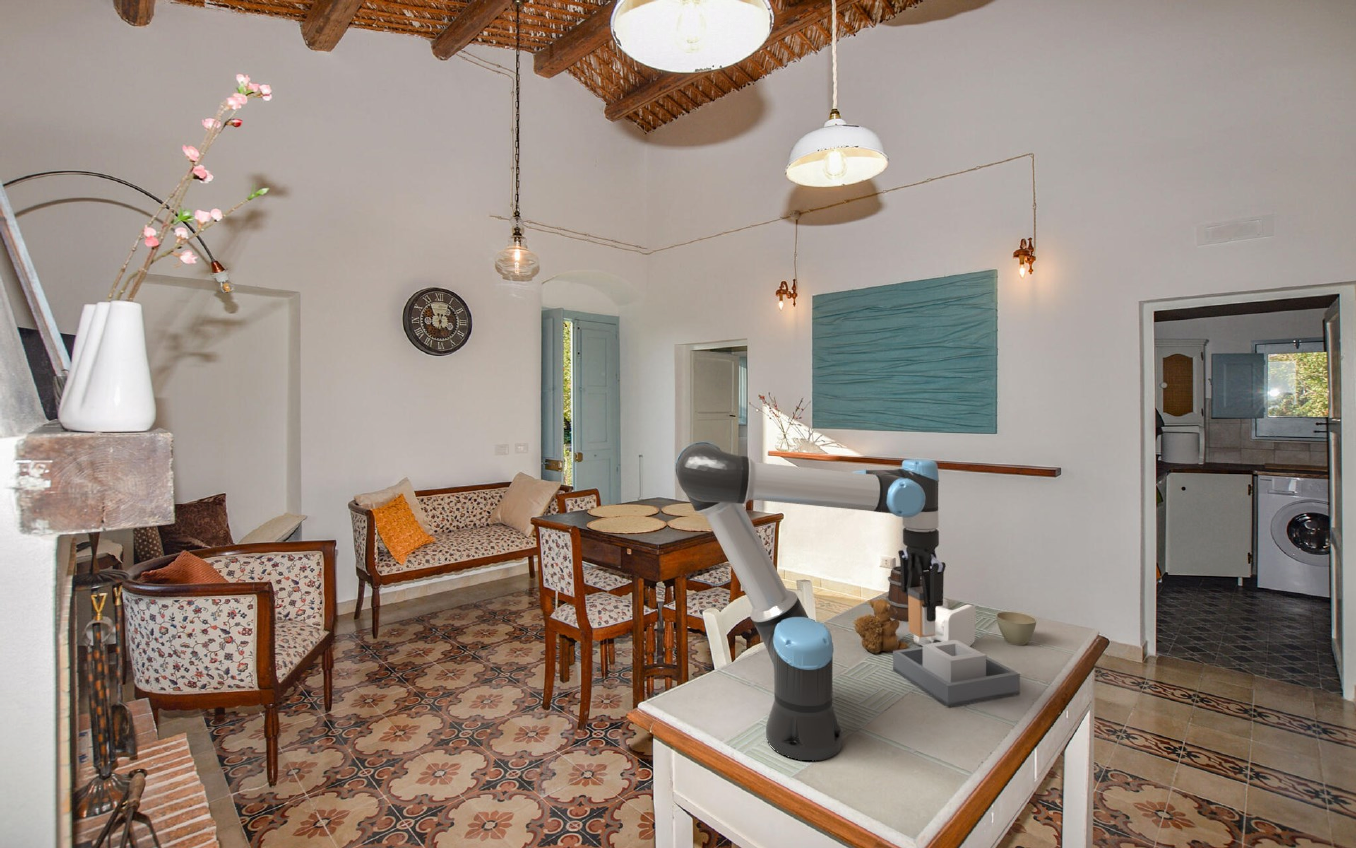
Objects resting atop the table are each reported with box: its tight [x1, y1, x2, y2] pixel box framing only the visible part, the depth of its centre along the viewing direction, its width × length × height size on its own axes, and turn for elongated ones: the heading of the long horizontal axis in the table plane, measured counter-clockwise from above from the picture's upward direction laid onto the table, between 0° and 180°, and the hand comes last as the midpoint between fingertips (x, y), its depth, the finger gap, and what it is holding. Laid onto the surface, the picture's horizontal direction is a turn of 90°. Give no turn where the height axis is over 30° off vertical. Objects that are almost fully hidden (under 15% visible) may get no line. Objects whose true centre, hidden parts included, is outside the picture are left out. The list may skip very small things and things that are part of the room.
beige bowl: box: [995, 611, 1037, 646], centre depth 173 cm, size 10×10×7 cm
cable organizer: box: [913, 598, 976, 647], centre depth 171 cm, size 15×11×12 cm
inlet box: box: [892, 640, 1021, 709], centre depth 149 cm, size 20×20×8 cm
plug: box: [908, 586, 935, 638], centre depth 138 cm, size 4×4×10 cm
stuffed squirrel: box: [852, 598, 909, 655], centre depth 169 cm, size 10×14×13 cm
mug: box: [885, 565, 922, 623], centre depth 193 cm, size 16×12×15 cm
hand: (921, 630), depth 138 cm, fingers closed on plug, 4 cm apart
